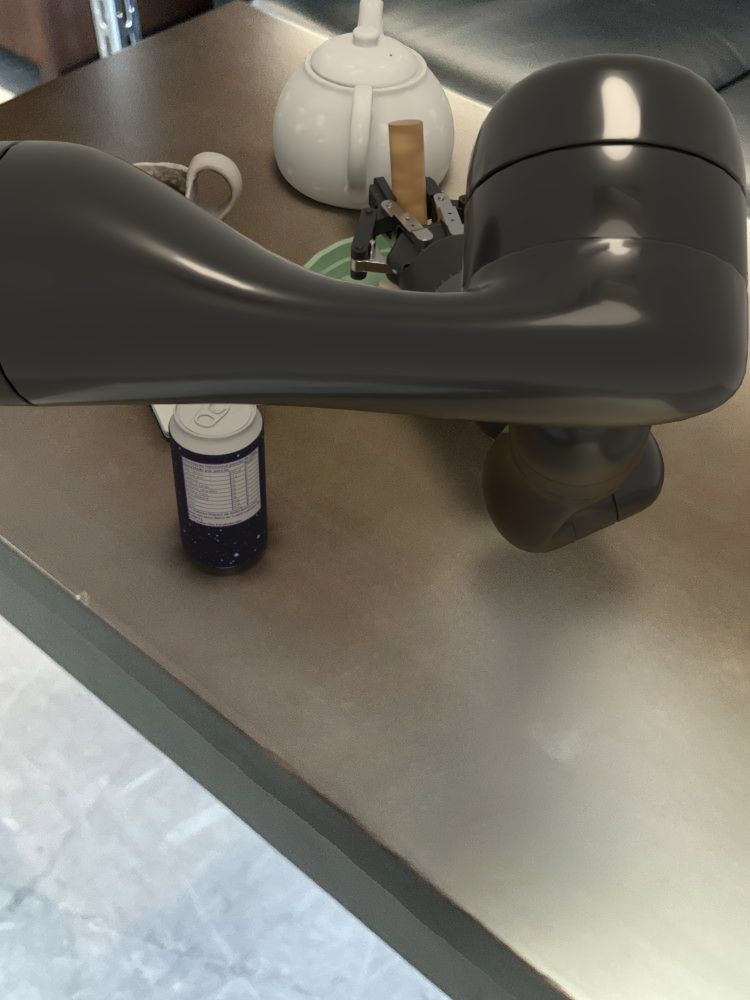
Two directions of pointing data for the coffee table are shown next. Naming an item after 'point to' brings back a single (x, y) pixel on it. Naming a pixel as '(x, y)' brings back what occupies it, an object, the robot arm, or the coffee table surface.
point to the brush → (407, 172)
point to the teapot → (357, 113)
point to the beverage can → (219, 481)
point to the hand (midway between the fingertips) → (396, 185)
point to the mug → (187, 178)
